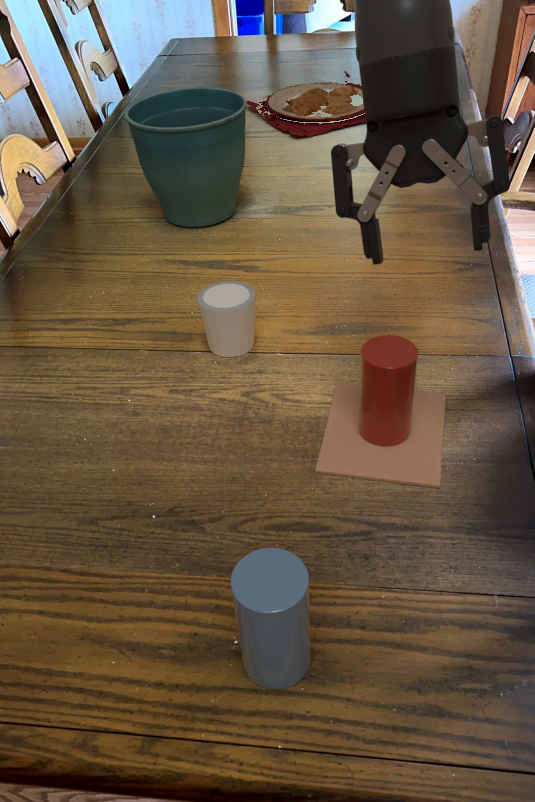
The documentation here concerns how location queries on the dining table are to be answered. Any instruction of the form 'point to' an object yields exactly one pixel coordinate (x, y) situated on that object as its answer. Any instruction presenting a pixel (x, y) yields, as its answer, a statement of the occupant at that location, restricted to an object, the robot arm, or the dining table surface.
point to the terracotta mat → (393, 464)
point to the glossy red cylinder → (387, 389)
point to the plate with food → (312, 107)
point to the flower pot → (191, 151)
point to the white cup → (228, 317)
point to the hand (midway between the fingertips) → (427, 256)
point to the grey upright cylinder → (273, 616)
